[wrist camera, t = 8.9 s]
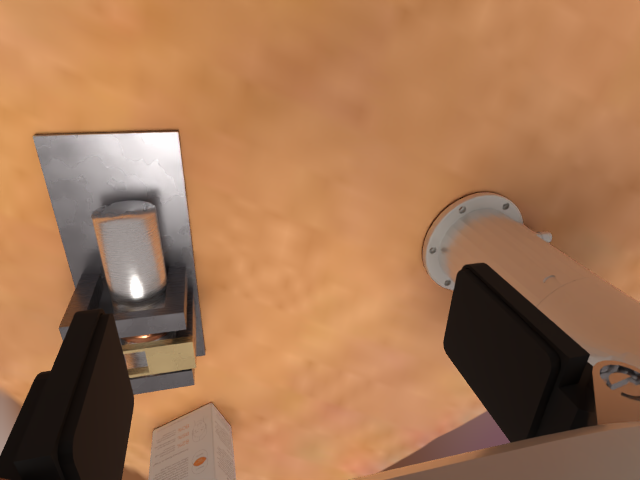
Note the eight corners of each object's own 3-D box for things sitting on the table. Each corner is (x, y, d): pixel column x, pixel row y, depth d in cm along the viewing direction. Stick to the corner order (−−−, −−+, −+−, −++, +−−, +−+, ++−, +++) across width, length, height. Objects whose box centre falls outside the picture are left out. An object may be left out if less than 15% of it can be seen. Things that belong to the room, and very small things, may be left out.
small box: (175, 453, 55) (171, 539, 46) (151, 428, 52) (142, 516, 43) (232, 426, 55) (240, 506, 46) (212, 400, 52) (215, 481, 43)
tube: (86, 207, 37) (96, 230, 33) (147, 196, 39) (163, 216, 35) (124, 365, 45) (135, 398, 41) (173, 348, 47) (188, 377, 44)
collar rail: (178, 130, 37) (173, 160, 30) (205, 351, 49) (206, 413, 41) (35, 134, 34) (-10, 168, 27) (99, 366, 46) (81, 436, 39)
